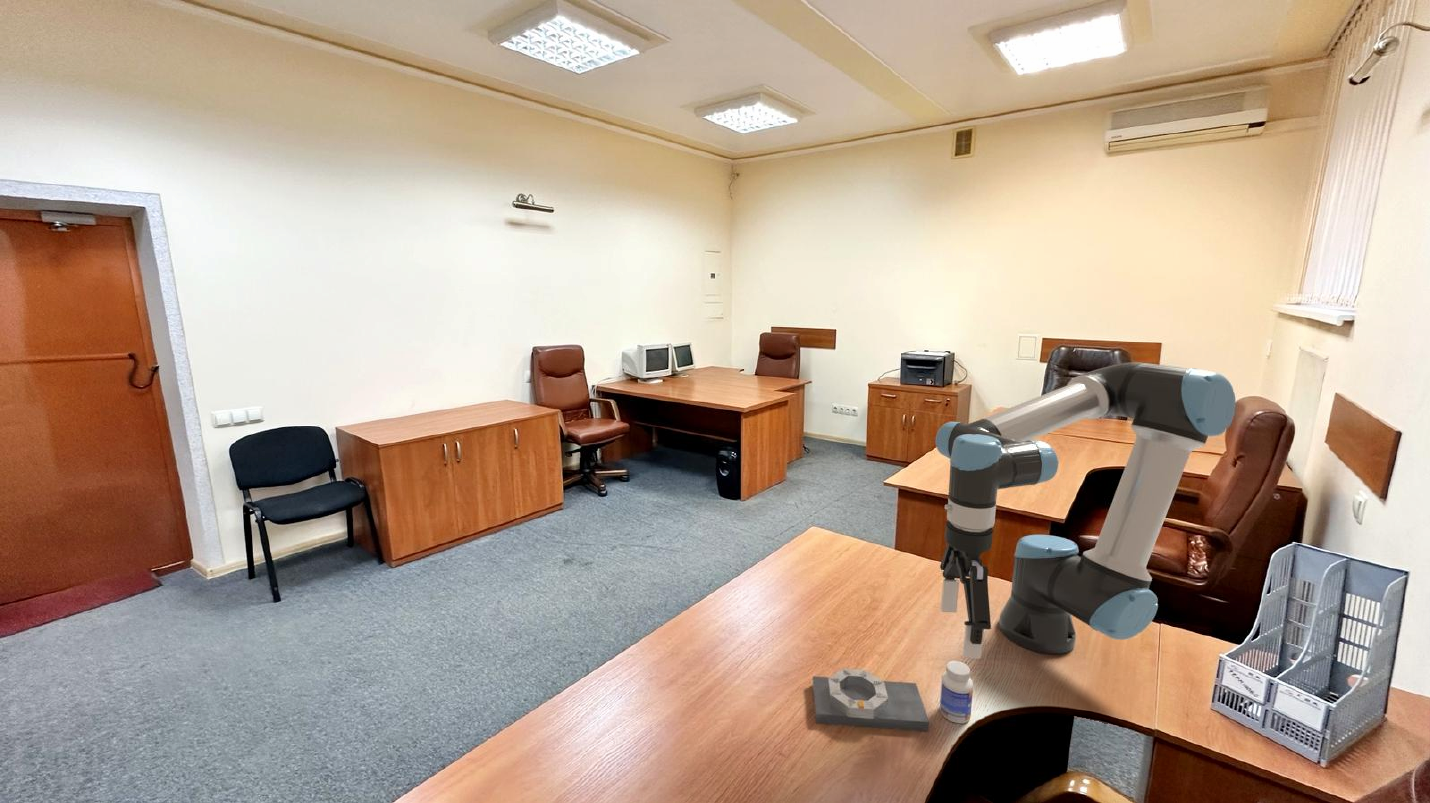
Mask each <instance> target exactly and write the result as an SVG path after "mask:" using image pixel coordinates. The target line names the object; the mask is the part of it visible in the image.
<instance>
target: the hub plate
mask: <svg viewBox="0 0 1430 803" xmlns="http://www.w3.org/2000/svg"><path fill="white" fill-rule="evenodd" d="M812 693H813V705H814V716H815V724H822V725H823V724H825V725H837V726H847V727H848V726H849V727H850V726H851V727H862V728H863V727H864V728H878V729H887V730H889V729H891V730H903V731H915V732H927V733H928V732H929V729H930V720H929V717H928V714H927V712H926V709H925V705H924V703H923V699H922V696H921V694H920V692H919V688H918V685H917V683H916V682H905V681H890V680H882V679H880V678H878V676H875V675H874V674H872V673H871V672H869V671H867V670H865V669H854V668H842V669H840V670H838V671H837V672H835V673H833V674H832V675H830V676H829V677H828V676H815V675H814V676H812Z"/></svg>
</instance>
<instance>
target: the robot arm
mask: <svg viewBox="0 0 1430 803" xmlns="http://www.w3.org/2000/svg"><path fill="white" fill-rule="evenodd" d="M1236 401H1237V400H1236V394H1235V392H1234V388H1233V386H1232V384H1231V382H1230V381H1229V379H1227V377H1225V376H1224V375H1222V374H1220V373H1218V372H1214V371H1209V370H1205V369H1204V370H1203V369H1200V368H1195V367H1191V368H1190V367H1184V366H1183V367H1182V366H1174V365H1166V364H1165V365H1164V364H1155V363H1148V362H1141V361H1140V362H1137V361H1136V362H1135V361H1133V362H1124V363H1118V364H1113V365H1108V366H1105V367H1101V368H1097V369H1094V370H1091V371H1088V372H1085V373H1083V374H1082V373H1081V374H1080V375H1078V376H1075V377H1073V378H1071V380H1069V381H1068V382H1067V384H1066V385H1065V386H1062V387H1059V388H1057V389H1055V390H1052V391H1050V392H1047V393H1044V394H1042V395H1038V397H1034V398H1032V399H1029V400H1027V401H1024V402H1022V403H1019V404H1017V405H1014V406H1011V407H1009V408H1007V409H1004V410H1001V411H998V412H996V413H993V414H991V415H989V416H986V417H983V418H981V419H978V420H975V421H972V422H969V423H963V422H962V421H961V422H960V421H949V422H946V423H944V424H943V425H942V426H941V427H940V428H939V429H938V431H937V433H936V435H935V447H936V449H937V451H938V452H939V453H940V454H941V455H942V456H944V457H945V458H948V459H949V463H950V467H949V482H948V483H949V484H948V498H947V499H948V500H947V501H948V502H947V504H945V505H944V509H945V510H946V519H947V520H946V522H945V532H944V541H945V543H946V546H945V549H944V553H943V556H942V559H941V562H940V565H939V568H940V570H941V571H942V577H943V578H944V579H943V580H942V592H941V605H940V610H941V612H942V613H955V614H956V613H957V612H958V610H957V609H958V599H959V588H960V583H961V584H962V585H963V589H964V597H965V603H966V611H967V620H965V621H964V622H963V623H964V625H965V627H964V638H963V639H964V640H963V651H962V655H963V658H965V659H978V660H980V659H982V651H983V644H984V643H983V642H984V633H985V632H984V631H985V630H991V629H992V625H991V622H992V621H991V610H990V608H991V607H990V597H989V583H988V578H989V577H988V576H989V569H988V566H983V561H982V558H981V555H982V554H983V553H986V552H988V551H989V550H991V548H992V544H993V537H994V536H993V534H994V529H993V528H994V525H995V521H996V510H997V499H998V498H997V496H998V490H1003V489H1009V488H1016V487H1023V486H1025V487H1026V486H1035V485H1038V484H1040V483H1045V482H1048V481H1051V480H1052V479H1053V478H1054V477H1055V476H1056V474H1057V472H1058V469H1059V458H1058V456H1057V453H1056V451H1055V449H1054V448H1053V446H1051V445H1049V444H1048V443H1047V442H1044V441H1043V440H1035V439H1036V438H1037V439H1038V438H1039V437H1040V438H1041V437H1042V436H1045V435H1046V434H1050V433H1052V432H1056V430H1060V429H1062V428H1065V427H1066V426H1069V425H1072V424H1074V423H1076V422H1079V421H1081V420H1084V419H1089V420H1096V419H1099V418H1102V417H1104V416H1115V417H1116V416H1117V417H1125V418H1128V419H1133V420H1132V423H1131V425H1130V428H1131V429H1132V430H1133V432H1134V435H1135V436H1136V438H1135V441H1134V444H1133V446H1132V448H1131V451H1130V453H1129V457H1128V459H1127V462H1126V464H1125V467H1124V470H1123V473H1122V475H1121V478H1120V480H1119V483H1118V486H1117V488H1116V490H1115V492H1114V496H1113V499H1112V502H1111V504H1110V507H1109V509H1108V511H1107V514H1106V517H1105V520H1104V522H1103V525H1102V528H1101V531H1100V533H1099V536H1098V539H1097V541H1096V543H1095V547H1093V548H1090V549H1089V550H1085V551H1083V553H1082V555H1081V556H1079V555H1078V554H1079V553H1080V552H1079V551H1080V550H1079V546H1078V544H1077V543H1075V541H1073V540H1071V539H1067V538H1066V537H1061V536H1056V535H1048V534H1029V535H1026V536H1022V537H1021V538H1019V540H1018V541H1017V543H1016V548H1015V552H1014V554H1013V556H1014V558H1013V559H1014V560H1013V567H1012V568H1013V570H1012V578H1011V579H1012V580H1011V591H1010V596H1009V597H1008V600H1007V601H1006V603H1005V604H1004V607H1003V608H1002V610H1001V612H1000V614H999V619H998V620H999V621H998V626H999V629H1000V631H1001V632H1002V634H1003V635H1004V636H1005V637H1006V638H1008V639H1009V640H1011V642H1014V643H1015V645H1019V646H1021V647H1022V648H1025V649H1028V650H1030V651H1032V652H1033V651H1034V652H1037V653H1041V654H1048V655H1049V654H1050V655H1061V654H1066V653H1069V652H1071V651H1072V650H1073V649H1074V647H1075V645H1076V639H1077V638H1076V637H1077V634H1076V630H1075V626H1074V622H1073V618H1072V616H1073V617H1074V618H1076V619H1077V620H1080V621H1081V622H1082V623H1084V624H1086V625H1087V626H1089V627H1090V628H1091V629H1092V630H1094V631H1096V632H1099V633H1101V634H1103V635H1105V636H1107V637H1108V638H1111V639H1113V640H1120V641H1122V640H1123V641H1124V640H1128V639H1131V638H1134V637H1136V636H1138V634H1140V633H1142V632H1143V631H1145V630H1146V628H1147V627H1148V626H1149V625H1150V624H1151V622H1152V621H1153V620H1154V618H1155V616H1156V614H1157V611H1158V608H1159V604H1158V602H1159V601H1158V597H1157V595H1156V594H1155V593H1154V592H1153V591H1152V590H1150V589H1149V588H1150V585H1151V583H1152V581H1153V580H1152V579H1153V577H1152V576H1151V575H1150V573H1149V571H1148V570H1147V565H1148V563H1149V561H1150V558H1151V555H1152V553H1153V549H1154V548H1155V544H1156V541H1158V540H1157V539H1158V537H1159V535H1160V532H1161V530H1162V527H1163V524H1164V522H1165V519H1166V517H1167V514H1168V511H1169V509H1170V506H1171V504H1172V501H1173V498H1174V496H1175V494H1176V491H1177V488H1178V486H1179V483H1180V480H1181V478H1182V476H1183V473H1184V471H1185V467H1186V466H1187V463H1188V460H1189V458H1190V455H1191V453H1192V452H1193V451H1194V450H1197V449H1199V448H1202V447H1204V446H1206V443H1207V441H1208V438H1209V437H1218V436H1220V435H1222V434H1223V433H1225V432H1226V429H1228V428H1230V426H1231V424H1232V422H1233V419H1234V418H1235V417H1234V416H1235V412H1236V405H1237V404H1236ZM958 579H959V580H958Z"/></svg>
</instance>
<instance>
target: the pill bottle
mask: <svg viewBox="0 0 1430 803" xmlns="http://www.w3.org/2000/svg"><path fill="white" fill-rule="evenodd" d="M945 668H946V669H945V671H944V672H943V673H942V675H941V681H940V682H941V685H940V701H939V711H940V714H941V715H942V717H944V718H945V719H946V720H948V721H950V722H952V723H956V724H965V723H967V722H969V720H970V719H971V717H972V716H971V714H972V707H973V706H972V704H973V693H974V682H973V680H972V679H971V670H970V667H969V666H968V665H967V664H966V663H964V662H961V661H958V660H950V661H949V662H947V663H946V667H945Z"/></svg>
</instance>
